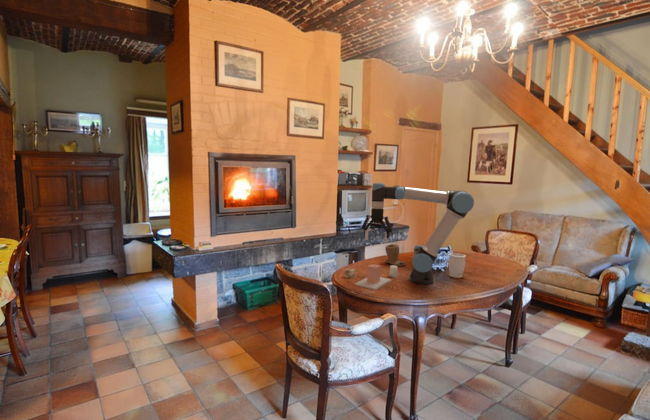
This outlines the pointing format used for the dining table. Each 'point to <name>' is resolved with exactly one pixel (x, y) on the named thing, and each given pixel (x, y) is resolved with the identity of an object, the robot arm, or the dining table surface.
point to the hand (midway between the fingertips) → (376, 241)
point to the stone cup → (393, 255)
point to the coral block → (373, 273)
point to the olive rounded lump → (349, 273)
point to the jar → (456, 264)
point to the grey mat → (372, 285)
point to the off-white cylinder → (393, 271)
